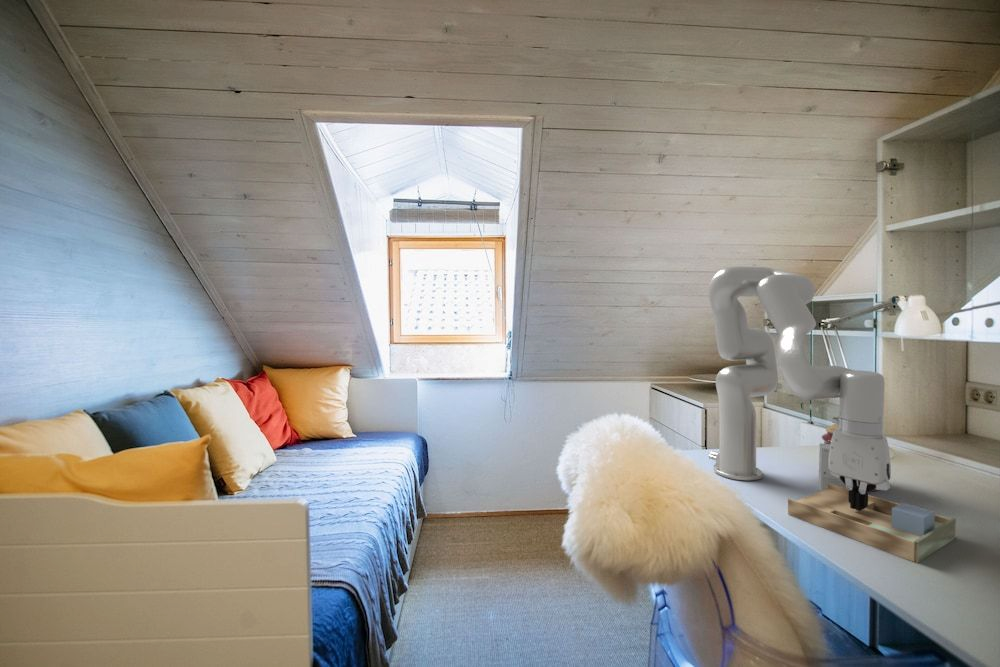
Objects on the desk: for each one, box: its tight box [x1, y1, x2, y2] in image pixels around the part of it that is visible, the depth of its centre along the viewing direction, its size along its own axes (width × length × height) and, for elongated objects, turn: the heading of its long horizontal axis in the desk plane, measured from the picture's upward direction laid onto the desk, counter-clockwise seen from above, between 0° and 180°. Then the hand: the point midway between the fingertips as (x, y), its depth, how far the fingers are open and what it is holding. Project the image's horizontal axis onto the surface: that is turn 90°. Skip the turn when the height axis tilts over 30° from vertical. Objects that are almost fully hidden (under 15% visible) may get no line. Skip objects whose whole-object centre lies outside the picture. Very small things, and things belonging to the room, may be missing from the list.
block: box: [891, 502, 936, 537], centre depth 89 cm, size 5×5×4 cm
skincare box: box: [817, 442, 846, 492], centre depth 113 cm, size 6×4×12 cm
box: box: [787, 483, 957, 564], centre depth 96 cm, size 23×18×4 cm
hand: (857, 508), depth 97 cm, fingers closed
